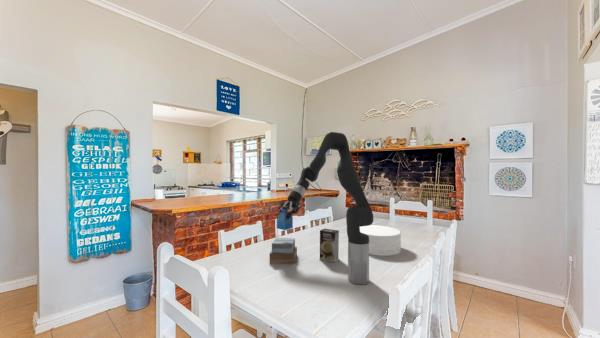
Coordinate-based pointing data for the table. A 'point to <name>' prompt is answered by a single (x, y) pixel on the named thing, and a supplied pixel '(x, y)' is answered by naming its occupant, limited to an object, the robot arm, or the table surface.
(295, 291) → the table surface
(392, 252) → the white short wide cylinder
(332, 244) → the coffee box
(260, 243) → the table surface
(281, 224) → the perfume bottle
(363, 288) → the table surface
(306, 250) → the table surface
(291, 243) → the two-tone square pedestal
